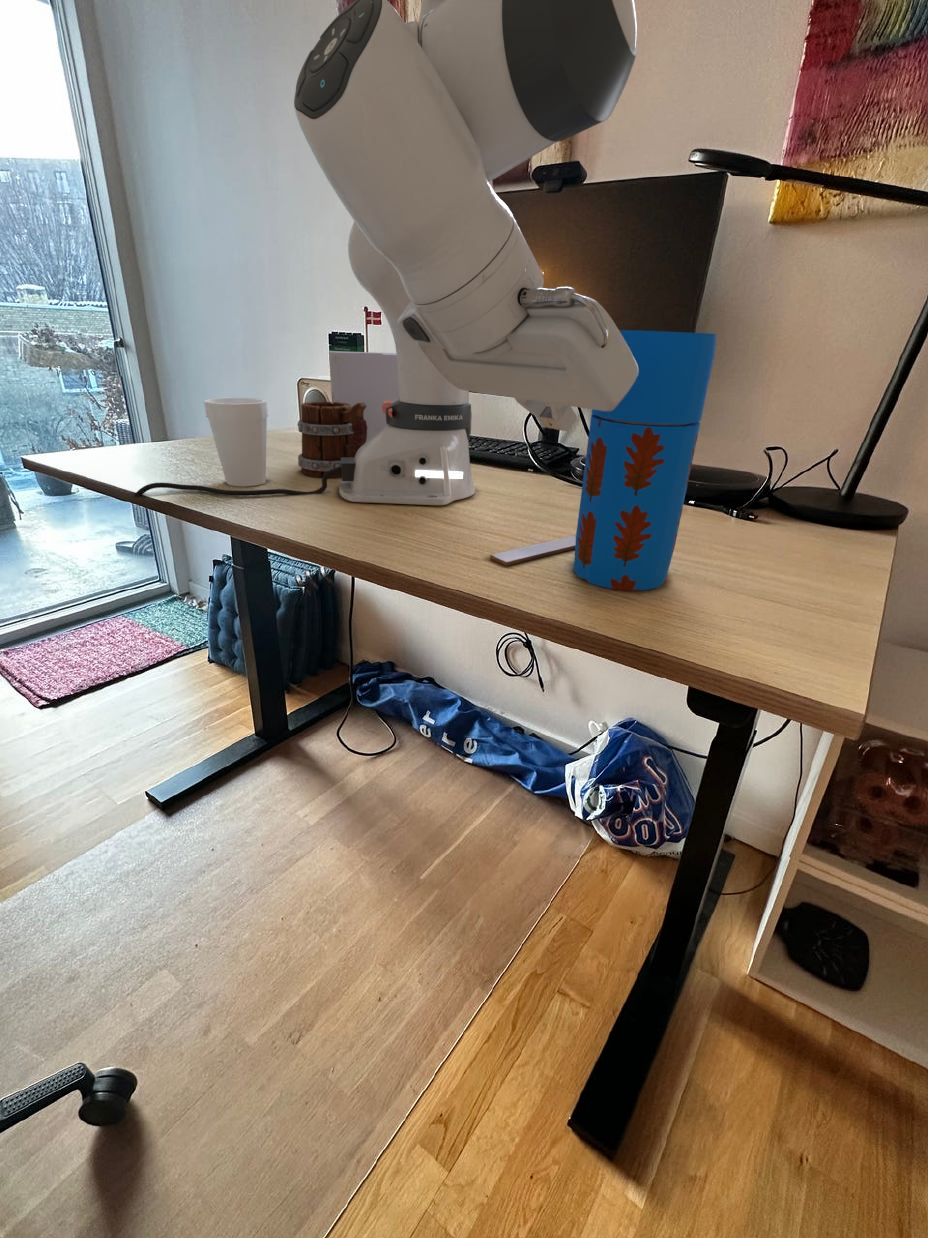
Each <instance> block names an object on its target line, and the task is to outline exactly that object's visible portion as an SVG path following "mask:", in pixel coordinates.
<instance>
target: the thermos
mask: <svg viewBox="0 0 928 1238" xmlns="http://www.w3.org/2000/svg"><path fill="white" fill-rule="evenodd" d="M618 330H619V331H620V333H621V335H622V336H623V338H624V340H625V342H626V343H627V345H628V347H629V349H630V351H631V353H632V355H633V357H634V359H635V361H636V363H637V365H638V375H637V378H636V380H635V382H634V384H633V385H632V387H631V389H630V390H629V391H628V393H627V394H626V396H625V397H624V398H623V399H622V401H621V402H620V403H619V404H618V406H617V407H616V408H615V409H614V410H612V411H600V410H594V409H591V415H590V423H589V431H588V438H587V446H586V453H585V462H584V468H583V469H584V471H583V478H582V486H581V492H580V501H579V508H578V509H579V510H578V517H577V524H576V534H575V535H576V543H575V549H574V557H573V558H574V559H573V560H574V561H573V572H574V573H575V574H576V575H577V577H578V578H580V579H582V580H583V581H586V582H587V583H589V584H592V585H595V586H599V587H601V588H605V589H612V590H617V591H631V592H640V591H648V590H654V589H656V588H659V587H661V586H662V585H663V584H665V582H666V581H667V577H668V572H669V569H670V566H671V562H672V559H673V556H674V555H673V554H674V551H675V548H676V547H675V546H676V542H677V538H678V532H679V529H680V522H681V518H682V513H683V509H684V504H685V499H686V498H685V497H686V494H687V490H688V486H689V485H688V484H689V479H690V475H691V470H692V465H693V460H694V455H695V450H696V446H697V441H698V436H699V431H700V427H701V423H700V422H701V421H702V418H703V417H702V416H703V413H704V407H705V403H706V398H707V392H708V388H709V383H710V380H711V374H712V369H713V364H714V359H715V354H716V344H717V343H716V342H717V333H710V332H709V333H708V332H707V333H706V332H685V331H684V332H683V331H661V330H660V331H659V330H657V331H656V330H629V329H628V330H627V329H618Z"/></svg>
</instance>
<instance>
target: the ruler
mask: <svg viewBox="0 0 928 1238" xmlns="http://www.w3.org/2000/svg"><path fill="white" fill-rule="evenodd" d="M575 543H576V534H574V535H569V536H564V537H561V538H556V539H552V540H548V541H543V542H539V543H534V544H530V545H526V546H522V547H521V546H520V547H518V548H512V549H509V550H505V551H500V552H496V553H492V554H490V555H489V559H491V560H492V561H495V562H497V563H498V564H501V565H503V566H505V567H507V566H511V565H516V564H520V563H524V562H529V561H532V560H536V559H539V558H543V557H548V556H551V555H555V554H560V553H563V552H568V551H573V550H575Z"/></svg>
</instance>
